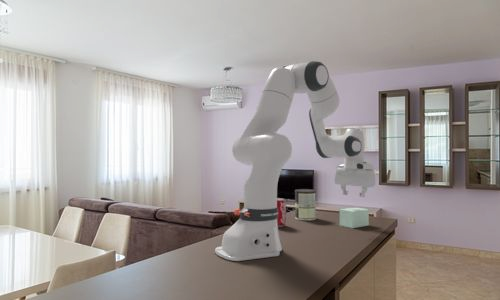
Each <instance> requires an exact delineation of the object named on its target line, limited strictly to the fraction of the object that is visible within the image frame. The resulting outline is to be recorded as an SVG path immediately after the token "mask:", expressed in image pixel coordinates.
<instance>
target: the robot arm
mask: <svg viewBox="0 0 500 300" xmlns="http://www.w3.org/2000/svg"><path fill="white" fill-rule="evenodd" d="M295 94H306V95H307V97H308V99H309V100H308V101H309V102H310V104H311V105H310V106H311V107H310V109H309V111H308V112H309V113H308V115H309V122H310V126H311V130H312V134H313V138H314V140H315V149H316V152H317V154H318V155H319V156H320V157H321V158H323V159H330V158H343V164H337V166H336V168H335V171H334V172H335V174H334V181H333V182H334V184H335V185H340V188H341V190H342V195H344V196H348V194H349V191H348V190H347V188H346V187H347V186H353V187H361V191H360V192H359V197H360V198H365V197H366V193H367V191H368V188H374V187H375V185H376V173H375V171H374V169H375V165H374V164H372V163H369V162H367V161H366V160H365V155H364V152H365V136H364V131H363V130H361V129H359V128H347V129H346V130H345V133H344V134H342V135H330V134H328V133H327V131H326V127H325V123H324V122H325V121H324V119H327V118H328V117H330V116H331V115H333V114H334V113H335V112H336V110H337V109H338V108H339V105H340V98H339V94H338V91H337V88H336V86H335V84H334V82H333V80H332V78H331V76H330V75H329V71H328V68H327V66H326V65H325V64H324V63H323V62H322V61H310V62H296V63H293V64H290V65H285V66H282V67H281V66H280V67H276V68H274V69H272V71H271V72H270V73H269V75H268V77H267V79H266V81H265V83H264V86H263V88H262V92H261V94H260V97H259V99H258V102H257V106H256V108H255V112H254V114H253V116H252V118H251V119H250V121H249V122H248V124H247V126H246V128H245V129H244V130H243V132H242V133H241V135H240V136H238V138H237V139H236V140H235V141H234V143H233V145H232V151H231V152H232V156H233V157H234V159H235V160H236V161H237V162H239V163H241V164H243V165H246V166H252V167H251V172H250V175H249V177H248V179H247V180H245V182H244V185H243V198H244V199H243V200H244V201H243V207H242V209H239V208H234V209H233V213H234V215H236V216H239V219H238V220H237V221H236V222H235V223H234V224H233V225H231V226H230V227H229V228H228V229H227V230H226V231H225V232H224V233H223V236H222V239H221V240H222V241H221V246H217V247H215V250H214V253H215V254H216V255H217V256H218V257H221V258H223V259H225V260H228V261H232V262H233V261H235V262H240V261H248V260H249V261H250V260H256V259H264V258H273V257H279V256H280V255H281V254H280V252H282V250H283V248H282V244H281V241H280V235H279V227H278V225H277V220H278V207H277V198H278V182H279V178H280V176H281V172H282V170H283V167H284V166H285V165H286V163H288V161H290V158H291V157H292V153H293V148H292V147H293V146H292V143H291V140H289V138H288V137H287V136H286V135H285V134H280V133H277V132H278V131H279V130H280V129H281V128H282V127H283V126H284V125H285V124H286V122H287V120H288V115H289V114H290V113H289V112H290V109H291V106H292V103H293V99H294V95H295Z"/></svg>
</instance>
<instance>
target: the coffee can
mask: <svg viewBox="0 0 500 300" xmlns="http://www.w3.org/2000/svg"><path fill="white" fill-rule="evenodd" d="M316 196H317V195H316V189H311V188H310V189H309V188H299V189H295V190H294V208H295V209H294V214H295V215H294V216H295V217H294V219H295V220H298V221H314V220H316V219H317V217H316V216H317V215H316V214H317V213H316V211H317V209H316V206H317V204H316V199H317V198H316Z"/></svg>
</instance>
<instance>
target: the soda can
mask: <svg viewBox="0 0 500 300" xmlns="http://www.w3.org/2000/svg"><path fill="white" fill-rule="evenodd" d="M277 207H278V220H277V225H278V228H283V227H284V226H286V223H287V204H286V201H285V198H282V197H281V198H280V197H277Z"/></svg>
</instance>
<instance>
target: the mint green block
mask: <svg viewBox="0 0 500 300" xmlns="http://www.w3.org/2000/svg"><path fill="white" fill-rule="evenodd" d="M369 214H370V213H369V209H367V208H363V207H362V208H361V207H346V208H340V209H339V226H340V227H345V228H350V229H355V228H361V227H366V226H370V225H369V224H370V223H369V221H370V220H369V219H370V218H369V217H370V215H369Z"/></svg>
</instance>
